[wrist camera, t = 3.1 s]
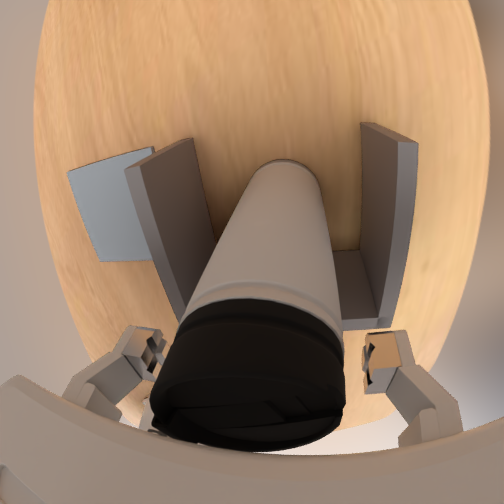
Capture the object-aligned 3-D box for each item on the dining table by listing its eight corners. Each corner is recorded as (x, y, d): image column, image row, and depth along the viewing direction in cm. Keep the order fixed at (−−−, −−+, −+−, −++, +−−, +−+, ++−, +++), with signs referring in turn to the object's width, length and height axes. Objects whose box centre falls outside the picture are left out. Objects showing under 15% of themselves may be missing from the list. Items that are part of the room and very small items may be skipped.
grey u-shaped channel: (370, 259, 26) (390, 327, 18) (210, 265, 29) (181, 328, 21) (374, 122, 19) (418, 143, 11) (180, 140, 22) (123, 169, 15)
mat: (183, 256, 29) (181, 259, 28) (102, 259, 31) (100, 261, 31) (153, 146, 23) (150, 147, 22) (69, 171, 25) (66, 172, 25)
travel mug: (232, 178, 23) (99, 391, 7) (302, 146, 21) (309, 381, 4) (264, 236, 26) (209, 460, 9) (330, 211, 24) (363, 455, 7)
